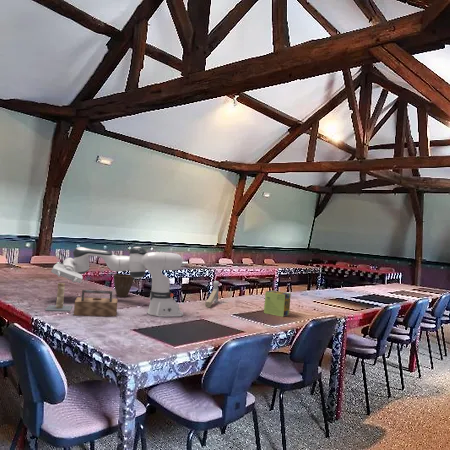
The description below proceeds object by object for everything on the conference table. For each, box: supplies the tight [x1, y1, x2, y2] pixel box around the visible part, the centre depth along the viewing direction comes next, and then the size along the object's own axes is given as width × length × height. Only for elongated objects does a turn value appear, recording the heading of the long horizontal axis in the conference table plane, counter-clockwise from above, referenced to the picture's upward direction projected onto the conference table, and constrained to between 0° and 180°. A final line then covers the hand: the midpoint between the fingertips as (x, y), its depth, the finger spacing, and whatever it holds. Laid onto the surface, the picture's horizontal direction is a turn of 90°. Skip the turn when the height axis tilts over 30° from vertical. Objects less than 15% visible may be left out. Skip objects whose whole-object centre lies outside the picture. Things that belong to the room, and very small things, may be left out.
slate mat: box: [45, 304, 73, 312], centre depth 259 cm, size 14×14×1 cm
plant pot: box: [113, 273, 134, 298], centre depth 318 cm, size 15×15×16 cm
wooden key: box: [55, 282, 66, 308], centre depth 259 cm, size 4×4×15 cm
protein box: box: [263, 290, 292, 318], centre depth 298 cm, size 10×15×16 cm
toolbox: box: [73, 289, 118, 317], centre depth 254 cm, size 24×14×14 cm, turn 104°
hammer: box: [204, 280, 220, 309], centre depth 314 cm, size 16×5×30 cm
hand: (66, 278), depth 272 cm, fingers open, 8 cm apart
